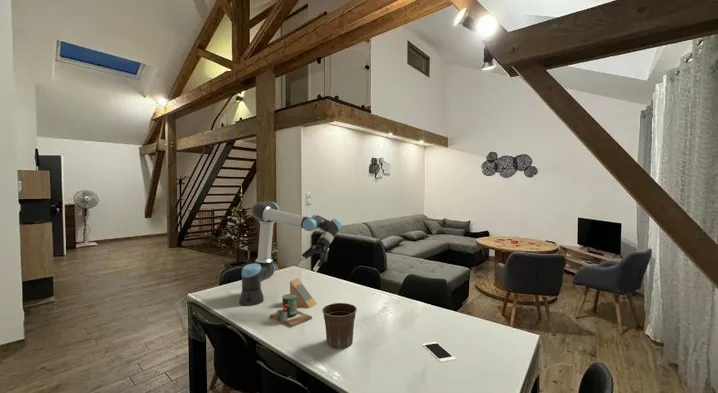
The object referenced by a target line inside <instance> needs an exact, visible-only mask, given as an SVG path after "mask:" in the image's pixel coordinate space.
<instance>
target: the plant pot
mask: <svg viewBox="0 0 718 393" xmlns="http://www.w3.org/2000/svg"><path fill="white" fill-rule="evenodd" d="M357 310H358V309H357V306H355V305H353V304H351V303H346V302H334V303H329V304H328V305H326V306H324V307H323V308H322V309H321V311H322V312H321V313H322V314H323V320H324V326H325V337H326V345H328V347H329V348H332V349H336V350H337V349H341V350H342V349H345V348H346V349H348V348H349V347H350V346H351V345H353V341H354V328H355V320H356V315H357V314H356V313H357Z"/></svg>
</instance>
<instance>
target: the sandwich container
mask: <svg viewBox="0 0 718 393" xmlns="http://www.w3.org/2000/svg"><path fill="white" fill-rule="evenodd" d="M289 288H290V289H289V294H295V295H297V307H301V308H308V309H311V308H313V307H315V306H317V302H316V301H315V299H314V298H313V296H312V295H311V294H310V292H309V291H308V290H307V288H306V287H305V286H304V284H303V283H302V281H301V280H300V278H298V277H297V278H295V279H292V280H289Z"/></svg>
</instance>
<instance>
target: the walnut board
mask: <svg viewBox="0 0 718 393" xmlns="http://www.w3.org/2000/svg"><path fill="white" fill-rule="evenodd" d="M269 318H271V319H273V320H275V321H277V322H279V323H281V322H282V323H281V324H283V323H284V325H286V326H288V327H290V328H294V327H296V326H299V325H301V324H304V323H306V322H308V321H311V320H313V316H312V315H309V314H307V313H304V312H302V311H299V310H297V316H296V317H293V318H287V312H286V311H283V309H278V310H276V312H274V313H270V314H269Z"/></svg>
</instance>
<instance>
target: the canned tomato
mask: <svg viewBox="0 0 718 393" xmlns="http://www.w3.org/2000/svg"><path fill="white" fill-rule="evenodd" d="M282 310H283V311H286V312H287V318H293V317H296V316H297V311H298V306H297V295H295V294H290V293H289V294H283V295H282Z"/></svg>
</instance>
